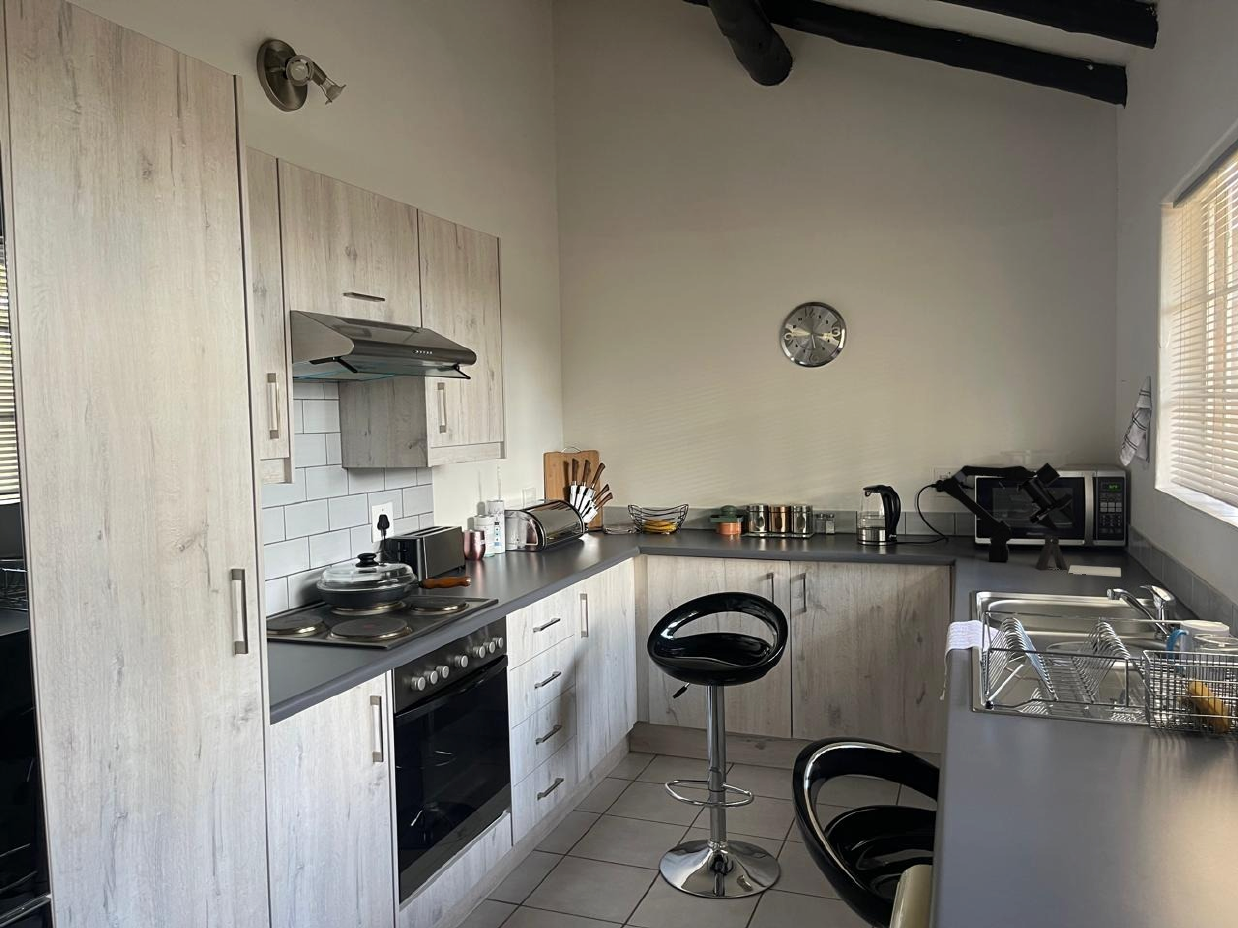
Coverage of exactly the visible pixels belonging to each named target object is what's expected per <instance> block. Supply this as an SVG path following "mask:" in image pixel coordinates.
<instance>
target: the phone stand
mask: <svg viewBox="0 0 1238 928" xmlns="http://www.w3.org/2000/svg"><path fill="white" fill-rule="evenodd" d="M1059 543H1060V538H1059V537H1058V536H1055V535H1052V534H1046V535H1045V536H1044V545H1043V547H1042V549H1041V553H1040V555H1039V557H1038V560H1037V562H1036V565H1035V568H1036V567H1037V568H1039V569H1038V570H1040V569H1041V570H1040V571H1045V570H1053V569H1049V568H1047V567H1048V565H1049V561H1050V557H1051V555H1053V558H1054V562H1055V567H1057V568H1059V569H1060V570H1067V571H1069V569H1068V567H1067V564H1066V561H1065V560H1064V555H1063V553H1062V551H1061V548H1060V545H1059ZM1037 568H1036V569H1037ZM1059 569H1057V570H1059ZM1055 570H1056V569H1055ZM1055 570H1054V571H1055Z"/></svg>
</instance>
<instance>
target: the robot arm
mask: <svg viewBox="0 0 1238 928" xmlns="http://www.w3.org/2000/svg"><path fill="white" fill-rule="evenodd" d="M970 476H971V477H972V476H973V477H989V478H991V477H992V478H1002V479H1008V480H1011V481H1014V482H1015V481H1016V482H1022V483H1021V484H1020V483H1017V489H1016V490H1017V491H1016V492H1021V491H1024V492H1025V494H1027V496H1029V498H1030V500H1031V502H1030V503H1031V504H1032V505H1034V504H1035V505H1036V506H1037V507H1038V508H1039V509H1036V510H1035V511H1034V512H1033V513H1032V514H1031V515H1030V516H1029V518H1028V519H1029V521H1030V522H1031V524H1032V525H1033V524H1035V525H1040V526H1043V527H1045V528H1047V529H1051V530H1052V531H1054V532H1056V533H1057V532H1059V531H1060V529H1059V528H1058V526H1057V525H1056V524H1055V522H1054V521H1053V520H1052V519H1051V517H1050V513H1049V512H1051V511H1053V510H1055V509H1056V508H1057V509H1059V510H1058V511H1059V512H1060V513H1061V514H1062V515H1064V516H1065V517H1066V518H1067V519H1069V520H1070V521H1071V522H1072V523H1076V522H1077V519H1076V517H1075V515H1074V513H1073V512H1074V511H1073V510H1072V502H1073V499H1074V496H1073V495H1072V494H1071V493H1069V492H1066V493H1063V491H1062V490H1061V488H1060V489H1057V490H1054V491H1050V490H1049V489H1045V488H1044V487H1043V486H1049V485H1051V484H1052V483H1053V482H1054V481H1056V480H1057V479H1059V478H1060V477H1061V474H1059V472H1058V471H1057V470H1056V469H1055V468H1054V467H1053V466H1052V465H1051V464H1050V463H1049V462H1045V463H1044V464H1043V465H1042V466H1041V467H1040V468H1038V469H1037V470H1035V471H1034V470H1030V469H1027V468H1026V467H1025V466H1023V465H1019V464H1018V465H1010V466H1004V467H998V466H996V467H995V466H978V465H977V466H975V465H968V464H966V465H963V466H962V467H961V468H960V469H959V470H958V471H957V472H956V473H954V474H953V475H952V476H950V477H945V478H944V479H943V480H942V482H941V486H940V487H941V490H942V492H944V493H945V494H947V495H949V496H950V497H952V498H954V499H955V500H957V501H959V502H960V503H961V504H962V505H963V506H965V507H966V508H967V509H968V510H969V511H970V512H971V513H973V514H974V515H975V516H976V517H977V518H978V519H979V520H980V521H982V522H983V523H984V524H985V525H986V526H987V527H988V529H989V530H990V531H991V533H993V535H991V536H990V537H989V538H988V539H989V541H990V543H989V544H988V559H989V561H988V562H990V561H1007V562H1008V561H1009V559H1010V558H1009V557H1010V555H1009V554H1010V549H1009V548H1008V544H1007V542H1009V541H1011V539H1012V538H1013V531H1012V529H1011V525H1010V524H1008V523H1006V521H1004V520H1003V519H1002V518H1000V519H999V520H998V519H996V518H995V517H993V516H992V515H991V514H990V513H989V512H988V511H986V510H985V509H984V508H983V507H982V506H981V505H980V504H978V502H976V501H975V500H974V499H973V498H971V496H969V494H967V493H966V492H965V490H964V489H963V488H962V486H961V485H960V484H961V483H962V482H963V481H964V480H965V479H967V478H968V477H970ZM1029 478H1030V480H1028V479H1029ZM1031 478H1032V479H1031ZM1039 482H1040V483H1039Z"/></svg>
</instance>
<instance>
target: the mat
mask: <svg viewBox="0 0 1238 928" xmlns="http://www.w3.org/2000/svg"><path fill="white" fill-rule="evenodd" d="M1121 571H1122V570H1121V567H1106V566H1091V565H1090V566H1087V565H1074V564H1073V565H1070V566H1069V569H1068V574H1069V573H1073V574H1072V575H1082V574H1086V576H1104V577H1105V576H1106V577H1120V578H1121V577H1122V574H1121V573H1122V572H1121Z"/></svg>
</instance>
